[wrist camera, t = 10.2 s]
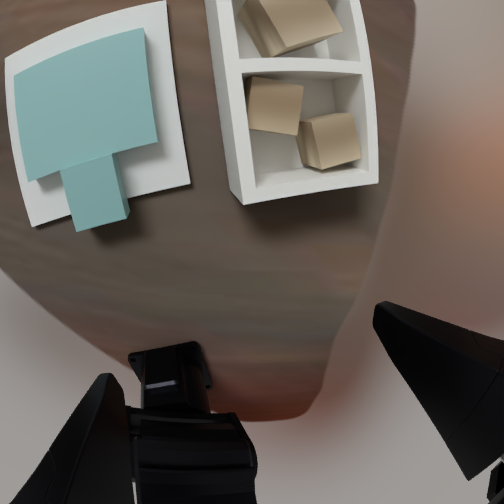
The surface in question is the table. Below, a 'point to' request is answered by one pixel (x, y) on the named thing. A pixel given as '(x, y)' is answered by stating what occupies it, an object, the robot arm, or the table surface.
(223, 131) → the tub
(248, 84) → the cube
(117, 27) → the mat
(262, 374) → the table surface
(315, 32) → the cube
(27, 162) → the lid
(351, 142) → the cube
